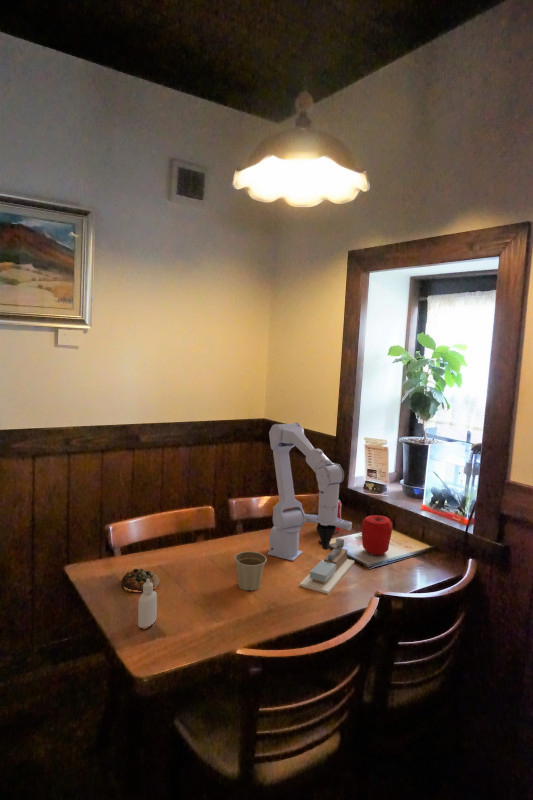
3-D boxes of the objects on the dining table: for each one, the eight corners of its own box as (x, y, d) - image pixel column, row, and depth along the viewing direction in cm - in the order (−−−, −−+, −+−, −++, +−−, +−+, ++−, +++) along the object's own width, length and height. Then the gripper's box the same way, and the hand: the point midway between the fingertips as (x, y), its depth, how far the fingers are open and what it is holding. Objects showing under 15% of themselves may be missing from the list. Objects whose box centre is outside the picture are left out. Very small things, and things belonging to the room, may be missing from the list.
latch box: (299, 586, 156) (300, 572, 156) (328, 556, 177) (329, 544, 177) (328, 594, 152) (329, 580, 152) (354, 563, 173) (355, 550, 173)
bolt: (326, 558, 165) (327, 546, 165) (336, 548, 173) (337, 537, 173) (333, 560, 164) (334, 548, 164) (343, 550, 172) (344, 538, 172)
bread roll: (112, 588, 150) (114, 571, 150) (135, 577, 160) (137, 561, 160) (146, 598, 146) (148, 580, 146) (167, 586, 156) (169, 569, 156)
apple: (376, 544, 189) (379, 508, 188) (396, 555, 181) (400, 517, 179) (353, 549, 184) (356, 512, 182) (373, 561, 175) (376, 522, 174)
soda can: (322, 532, 198) (324, 501, 197) (323, 526, 205) (325, 496, 203) (339, 534, 197) (341, 503, 196) (340, 528, 204) (341, 498, 202)
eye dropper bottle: (133, 624, 132) (133, 579, 131) (152, 617, 136) (153, 572, 135) (141, 632, 129) (142, 585, 128) (161, 624, 133) (162, 579, 131)
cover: (309, 577, 157) (309, 571, 157) (320, 566, 165) (321, 560, 165) (325, 582, 155) (325, 575, 155) (335, 570, 163) (336, 564, 163)
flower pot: (269, 582, 158) (271, 554, 156) (259, 597, 149) (260, 567, 148) (240, 576, 161) (241, 549, 160) (228, 590, 152) (229, 561, 151)
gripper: (300, 504, 157) (298, 548, 159) (348, 513, 151) (345, 558, 153) (308, 497, 163) (306, 540, 165) (354, 505, 158) (351, 549, 160)
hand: (325, 548), depth 160 cm, fingers closed
